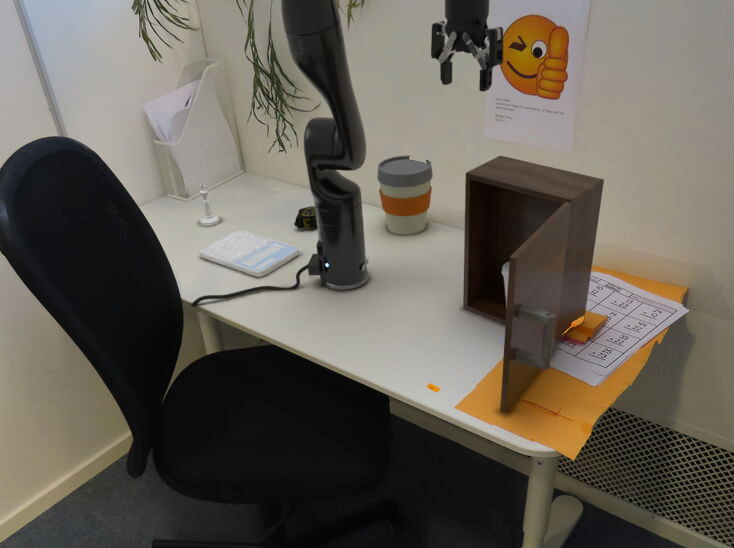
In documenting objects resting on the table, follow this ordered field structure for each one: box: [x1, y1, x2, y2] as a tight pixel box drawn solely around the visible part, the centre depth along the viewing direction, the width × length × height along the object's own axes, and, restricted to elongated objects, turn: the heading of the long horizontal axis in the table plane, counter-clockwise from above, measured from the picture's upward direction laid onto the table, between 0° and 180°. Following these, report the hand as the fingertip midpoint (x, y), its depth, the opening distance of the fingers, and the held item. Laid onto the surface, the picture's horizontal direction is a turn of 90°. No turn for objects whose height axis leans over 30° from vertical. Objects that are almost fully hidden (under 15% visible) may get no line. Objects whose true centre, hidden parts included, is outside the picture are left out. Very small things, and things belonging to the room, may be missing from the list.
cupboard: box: [462, 155, 605, 346], centre depth 121 cm, size 10×20×27 cm, turn 46°
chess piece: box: [198, 182, 221, 227], centre depth 170 cm, size 5×5×10 cm
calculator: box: [199, 229, 300, 278], centre depth 155 cm, size 13×20×2 cm, turn 53°
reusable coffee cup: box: [377, 155, 434, 236], centre depth 159 cm, size 12×13×15 cm
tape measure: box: [293, 205, 317, 229], centre depth 166 cm, size 7×7×4 cm
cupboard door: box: [499, 202, 572, 414], centre depth 104 cm, size 6×20×27 cm, turn 146°
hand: (465, 87), depth 125 cm, fingers open, 8 cm apart
